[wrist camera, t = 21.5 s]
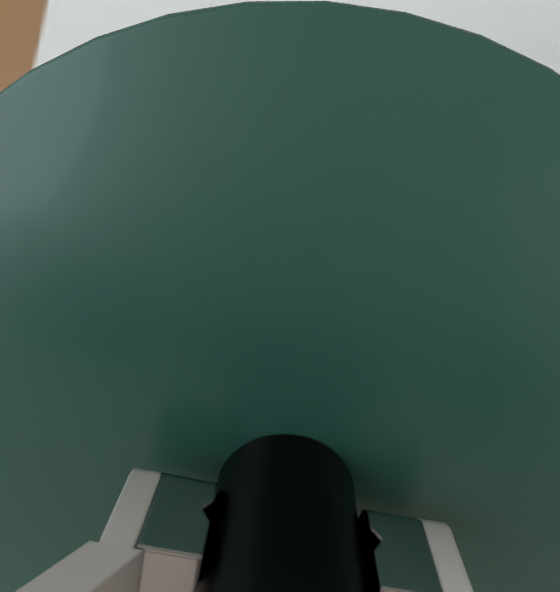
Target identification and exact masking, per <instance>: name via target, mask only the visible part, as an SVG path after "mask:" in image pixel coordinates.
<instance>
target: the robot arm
mask: <svg viewBox="0 0 560 592" xmlns="http://www.w3.org/2000/svg"><path fill="white" fill-rule="evenodd" d="M217 487H218V483H213V482H208V481H203V480H199V479H194V478H189V477H184V476H179V475H174V474H169V473H164V472H163V473H161V472H156V471H151V470H146V469H142V468H137V467H135V468H134V469H133V470H132V471H131V472H130V474H129V476H128V478H127V480H126V483H125V485H124V487H123V489H122V491H121V494H120V496H119V498H118V500H117V502H116V505H115V507H114V509H113V511H112V514H111V516H110V518H109V520H108V522H107V525H106V527H105V529H104V531H103V534H102V536H101V538H100V540H99V542H95V541H88V542H87V543H85V544H84V545H82V546H81V547H80V548H78V549H77V550H75V551H74V552H72V553H71V554H69V555H68V556H66V557H65V558H63V559H62V560H61V561H59V562H58V563H56V564H55V565H53V566H52V567H50V568H49V569H47V570H46V571H44V572H43V573H42V574H40V575H39V576H37V577H36V578H34V579H33V580H31V581H30V582H28V583H27V584H25V585H24V586H23V587H21V588H20V589H18V590H17V591H15V592H195V589H196V587H197V585H198V580H199V576H200V571H201V566H202V562H203V557H204V552H205V547H206V542H207V537H208V531H209V526H210V523H211V518H212V513H213V508H214V503H215V498H216V492H217ZM358 521H359V528H360V535H361V542H362V549H363V556H364V563H365V570H366V577H367V584H368V591H369V592H474V591H473V588H472V586H471V583H470V580H469V577H468V575H467V572H466V569H465V566H464V564H463V561H462V558H461V556H460V553H459V550H458V547H457V545H456V542H455V539H454V536H453V534H452V531H451V528H450V527H449V526H448V525H447V523H445V522H439V521H432V520H426V519H420V518H418V519H416V518H412V517H406V516H400V515H394V514H388V513H382V512H377V511H371V510H365V509H363V510H362V512H361V513H360V515H359V517H358Z"/></svg>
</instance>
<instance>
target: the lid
mask: <svg viewBox="0 0 560 592" xmlns="http://www.w3.org/2000/svg"><path fill="white" fill-rule="evenodd" d="M135 467H137V468H142V469H146V470H151V471H156V472H161V473H163V472H164V473H169V474H174V475H179V476H184V477H189V478H194V479H199V480H203V481H208V482H213V483H218V487H217V492H216V498H215V503H214V508H213V513H212V518H211V523H210V526H209V531H208V537H207V542H206V547H205V552H204V557H203V562H202V566H201V571H200V576H199V580H198V585H197V587H196V589H195V592H369V591H368V584H367V577H366V570H365V563H364V556H363V549H362V542H361V535H360V528H359V521H358V517H359V515H360V513H361V512H362V510H363V509H365V510H371V511H377V512H382V513H388V514H394V515H400V516H406V517H412V518H416V519H418V518H420V519H426V520H432V521H439V522H445V523H447V525H448V526H449V527H450V528H451V531H452V534H453V536H454V539H455V542H456V545H457V547H458V550H459V553H460V556H461V558H462V561H463V564H464V566H465V569H466V572H467V575H468V577H469V580H470V583H471V586H472V588H473V591H474V592H560V75H559V74H558V73H556V72H555V71H553V70H552V69H551V68H549V67H547V66H545V65H543V64H540V63H538V62H536V61H534V60H532V59H530V58H528V57H526V56H524V55H522V54H520V53H518V52H516V51H513V50H511V49H509V48H507V47H505V46H503V45H501V44H499V43H497V42H495V41H493V40H491V39H489V38H486V37H484V36H482V35H479V34H476V33H473V32H470V31H466V30H463V29H460V28H456V27H453V26H450V25H446V24H443V23H440V22H436V21H433V20H430V19H427V18H423V17H420V16H417V15H413V14H410V13H407V12H400V11H393V10H386V9H379V8H372V7H366V6H359V5H352V4H345V3H338V2H331V1H256V2H241V3H234V4H228V5H222V6H216V7H209V8H203V9H197V10H191V11H184V12H178V13H172V14H167V15H164V16H161V17H158V18H155V19H151V20H148V21H145V22H142V23H139V24H136V25H133V26H130V27H127V28H123V29H120V30H117V31H114V32H111V33H108V34H105V35H102V36H98V37H96V38H94V39H92V40H90V41H88V42H86V43H84V44H82V45H80V46H78V47H76V48H74V49H72V50H70V51H68V52H66V53H64V54H62V55H60V56H58V57H56V58H54V59H52V60H50V61H48V62H46V63H44V64H42V65H40V66H38V67H36V68H34V69H32V70H30V71H29V72H28V73H26V74H25V75H23V76H22V77H21V78H19V79H18V80H16V81H15V82H14V83H12V84H11V85H10V86H8V87H7V88H5V89H4V90H3V91H1V92H0V592H15V591H17V590H18V589H20V588H21V587H23V586H24V585H25V584H27V583H28V582H30V581H31V580H33V579H34V578H36V577H37V576H39V575H40V574H42V573H43V572H44V571H46V570H47V569H49V568H50V567H52V566H53V565H55V564H56V563H58V562H59V561H61V560H62V559H63V558H65V557H66V556H68V555H69V554H71V553H72V552H74V551H75V550H77V549H78V548H80V547H81V546H82V545H84V544H85V543H87V542H88V541H95V542H99V540H100V538H101V536H102V534H103V531H104V529H105V527H106V525H107V522H108V520H109V518H110V516H111V514H112V511H113V509H114V507H115V505H116V502H117V500H118V498H119V496H120V494H121V491H122V489H123V487H124V485H125V483H126V480H127V478H128V476H129V474H130V472H131V471H132V470H133V469H134V468H135Z"/></svg>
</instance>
